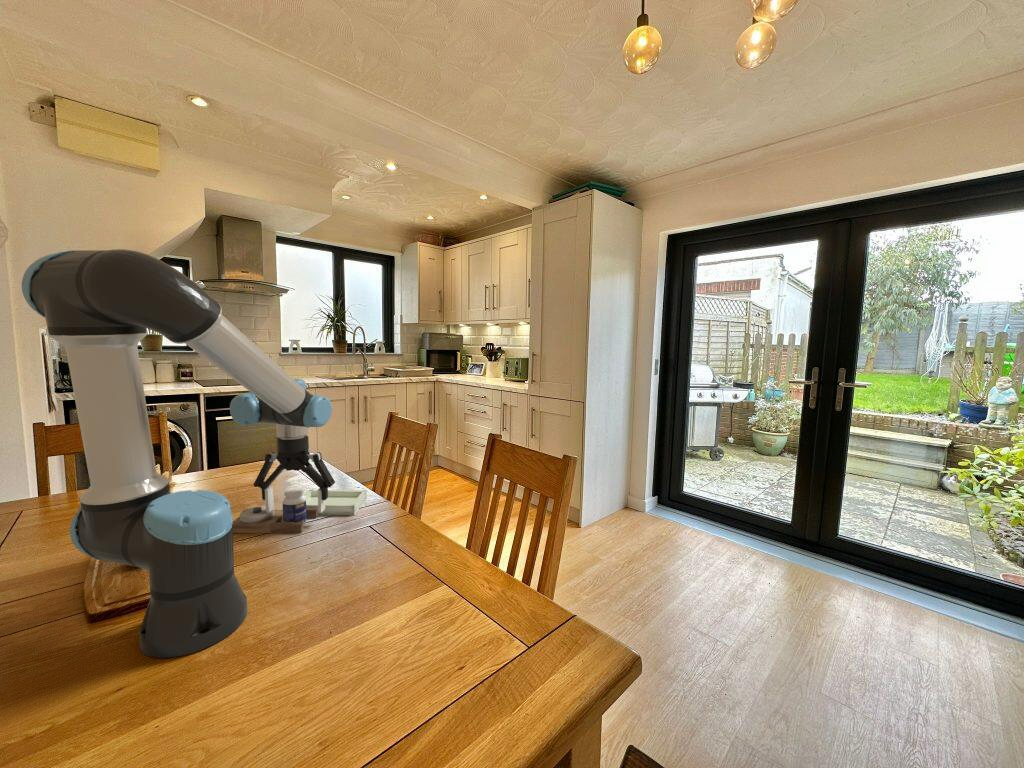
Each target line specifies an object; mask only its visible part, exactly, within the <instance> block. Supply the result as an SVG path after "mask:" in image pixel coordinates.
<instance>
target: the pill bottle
mask: <svg viewBox="0 0 1024 768" xmlns="http://www.w3.org/2000/svg"><path fill="white" fill-rule="evenodd" d="M304 494H305V490H304V487H300V486H298V487H297V486H296V487H290V488H287V489H285V490H284V494H283V495H284V496H285V497H284V498H283V500H282V510H283V522H303V526H304V525H305V524H307V518H306V497H305V496H304Z"/></svg>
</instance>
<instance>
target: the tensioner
mask: <svg viewBox="0 0 1024 768" xmlns="http://www.w3.org/2000/svg"><path fill="white" fill-rule="evenodd" d="M318 517H319V515H318V510H317V508H306V519H317V518H318ZM303 532H304V525H303V522H283V509H275V508H274V509H273V510H272V511H271V512H269V513H266V505H258V506H253V507H249V508H247V509H245V510H242V511H240V513H239V516H238V517H237V518H235V519H233V534H236V533H237V534H244V533H245V534H302V533H303Z"/></svg>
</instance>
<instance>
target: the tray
mask: <svg viewBox="0 0 1024 768" xmlns="http://www.w3.org/2000/svg"><path fill="white" fill-rule="evenodd" d="M303 495H304V496H305V497H306V508H317V510H318V489H309V490H307V491H306V492H304V494H303ZM366 499H368V490H355V489H354V490H351V489H350V490H348V489H346V490H344V489H343V490H342V489H340V490H339V489H336V490H335V489H328V498H327V499H326V500H325V510H324V511H323V512H322V513H318V516H342V517H343V516H348V517H349V516H353V517H354V516H355V515H356V512H357V513H358V511H359V510H360V509H361V508H360V507H362V506H363V505H364V504H365V503H364V502H367V500H366ZM363 503H364V504H363ZM362 504H363V505H362ZM359 508H360V509H359Z"/></svg>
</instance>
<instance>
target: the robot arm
mask: <svg viewBox="0 0 1024 768" xmlns="http://www.w3.org/2000/svg"><path fill="white" fill-rule="evenodd" d="M21 291H22V295H23V298H24V299H25V302H26V303H27V304H28V306H29V307H30V309H32V310H33V311H35V312H36V313H37V314H39V315H40V316H41V317H42V318H45V322H46V323H45V324H46V327H47V333H48V338H50V339H52V340H54V341H56V342H57V343H59V344H60V345H62V346H63V347H64V349H65V351H66V356H67V363H68V368H69V374H70V380H71V384H72V385H71V386H72V390H73V396H74V401H75V408H76V412H77V417H78V423H79V428H80V433H81V434H80V435H81V440H82V446H83V451H84V455H85V457H84V458H85V463H86V467H87V468H86V469H87V473H88V478H89V484H90V485H89V487H88V488H87V489H86V490H85V491H84V492H83V493H82V494H81V495H80V496H79V503H80V506H79V508H78V509H77V513H76V514H75V515H73V516H72V519H71V522H70V525H69V536H70V540H71V542H72V544H73V545H74V547H75V548H76V549H77V550H78V551H79V552H81V553H82V554H84V555H86V556H89V557H91V558H93V559H95V560H98V561H103V562H108V563H116V564H120V565H121V564H122V565H126V566H132V567H136V568H140V569H145V570H147V571H148V579H149V581H148V582H149V592H150V598H149V602H148V604H147V608H146V611H145V614H144V616H143V619H142V622H141V625H140V628H139V632H138V641H139V649H140V651H141V652H142V653H143V654H144V655H145V656H148V657H150V658H154V659H155V658H156V659H171V658H179V657H181V656H186V655H189V654H194V653H196V652H199V651H201V650H203V649H206V648H209V647H211V646H213V645H215V644H217V643H219V642H220V641H222V640H224V639H226V638H227V637H228V636H230V635H231V634H232V633H234V632H235V631H236V630H237V629H239V627H240V626H241V625H242V624H243V623H244V622H245V620H246V618H247V616H248V599H247V596H246V595H245V593H244V592H243V590H242V587H241V584H240V583H239V580H238V578H237V576H236V573H235V565H234V564H235V559H234V556H235V555H234V533H233V521H234V517H233V514H232V508H231V503H230V501H229V499H228V498H227V497H226V496H225V495H223V494H222V493H218V492H216V491H212V490H203V489H202V490H200V489H198V490H195V491H194V490H193V491H192V490H182V491H176V492H171V487H170V481H169V478H168V477H166V476H164V475H162V474H160V473H158V472H157V468H156V460H155V459H156V458H155V454H154V446H153V439H152V433H151V428H150V427H151V426H150V422H149V420H150V419H149V415H148V406H147V401H146V394H145V388H144V381H143V375H142V369H141V362H140V356H139V349H138V348H139V347H138V345H139V343H140V342H141V341H143V339H144V338H145V337H147V335H148V331H147V329H149V330H151V331H153V332H156V333H158V334H160V335H161V336H163V337H165V338H166V339H168V340H169V341H170V342H171V343H173V344H185V345H187V346H188V347H189V348H190V349H192V350H193V351H195V352H196V353H197V354H199V355H200V356H202V357H203V358H204V359H206V360H207V361H208V362H209V363H211V365H212V364H213V366H215V367H216V368H217V369H219V370H220V371H221V372H223V373H225V374H226V375H227V376H229V377H230V379H232V380H234V381H235V382H236V383H237V384H239V385H241V386H242V387H243V388H244V389H246V390H247V391H248V392H245V393H241V394H238V395H236V396H234V398H232V399H231V401H230V403H229V413H230V416H231V418H232V420H233V421H234V422H235V423H236V424H238V425H239V426H243V427H244V426H246V427H247V426H255V425H257V424H271V425H272V424H273V425H275V427H276V428H275V429H276V430H275V431H276V434H275V435H276V437H278V438H277V439H276V448H277V449H276V451H277V453H275V452H274V451H271V452H268V453H267V454H265V456H264V457H265V458H264V463H263V465H262V467H261V469H260V471H259V473H258V474H257V477H256V478H255V481H254V482H253V487H254V488H260V489H261V498H262V501H265V506H266V513H269V512H271V511H272V510H273V509H274V510H275V500H274V497H275V496H274V486H273V485H272V484H273V482H274V481H275V480H276V479H277V478H278V477H279V476H280V474H281V473H283V472H284V470H285V471H286V472H288V471H289V472H290V471H300V470H301V472H302V473H305V474H306V475H307V476H308V477H309V478H310V479H311V480H312V481H313V482H314V483H315V485H317V486H318V487H319V488H318V489H317V490H318V513H322V512H323V511H324V510H325V500H326V499H327V498H328V490H329V488H331V487H333V485H334V484H335V483H336V481H335V478H333V476H332V474H331V472H330V471H329V469H328V467H327V465H326V464H325V462H324V460H323V457H322V453H321V452H320V451H318V452H316V453H310V451H309V450H310V449H309V448H310V447H309V446H310V445H309V443H310V441H309V439H310V438H309V435H308V434H309V428H321V427H324V426H325V425H327V423H328V422H329V421H330V419H331V417H332V413H333V406H332V402H331V400H330V399H329V398H328V397H326V396H325V395H320V394H311V393H310V392H309V391H308V390H307V385H306V381H305V379H303V378H293V377H292V376H291V375H289V373H287V372H286V371H285V370H284V369H283V368H282V367H280V365H279V364H278V363H276V361H275V360H273V359H272V358H271V357H270V356H269V355H267V354H266V352H265V351H263V350H262V349H261V348H260V347H259V346H257V345H256V344H255V343H254V342H253V341H252V340H251V339H250V338H249V337H248V336H247V335H245V334H244V333H243V332H242V331H241V330H239V328H238V327H236V325H234V323H232V322H230V320H228V319H227V318H226V317H225V316H224V315H223V308H222V305H221V304H220V303H219V302H218V301H217V300H216V299H214V297H213V296H211V295H210V294H209V293H208V292H207V291H205V290H204V289H203V288H202V287H201V286H200V285H199V284H197V283H196V282H194V280H192V279H191V278H189V277H188V276H186V275H185V274H184V273H182V272H181V271H179V270H177V269H176V268H175V267H173V266H171V265H169V263H166V262H164V261H163V260H161V259H158V258H156V257H154V256H152V255H150V254H147V253H144V252H140V251H137V250H132V249H131V250H130V249H125V248H124V249H122V248H121V249H118V248H117V249H106V250H105V249H103V250H101V249H100V250H97V249H96V250H93V249H92V250H91V249H90V250H89V249H88V250H87V249H86V250H83V249H82V250H65V251H59V252H56V253H55V252H54V253H51V254H48V255H44V256H42V257H40V258H38V259H36V260H35V261H34V262H33V263H31V264H30V265H29V266H28V267H27V268H26V270H25V271H24V273H23V276H22V279H21ZM276 460H277V461H278V463H279V465H278V466H277V467H276V468H275V470H274V471H273V472H272V473H271V474H270V475H269V476H267V475H268V474H269V471H270V470H271V468H272V466H273V464H274V462H275V461H276ZM310 460H311V462H312V463H313V464H314V466H315V467H316V468H314V467H313V465H312V464H311V462H310ZM316 469H317V470H316ZM266 477H267V479H266ZM265 479H266V480H265Z"/></svg>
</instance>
